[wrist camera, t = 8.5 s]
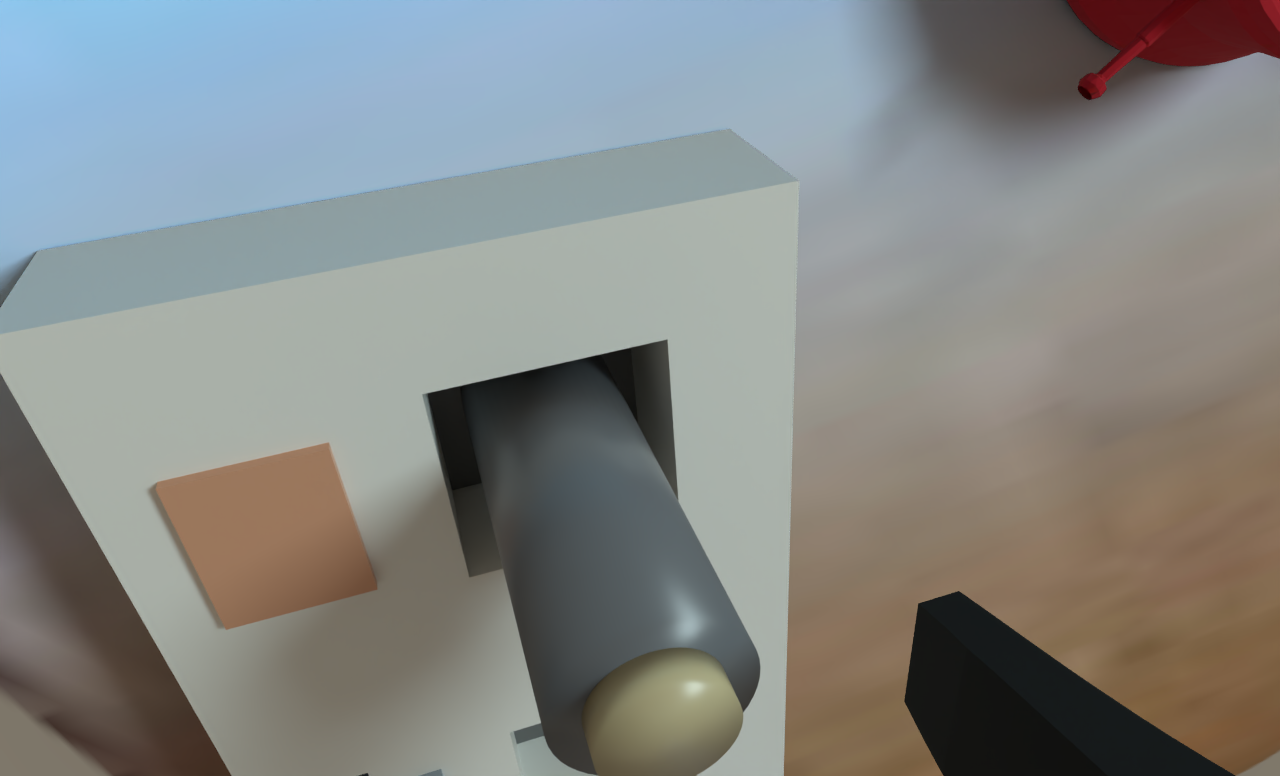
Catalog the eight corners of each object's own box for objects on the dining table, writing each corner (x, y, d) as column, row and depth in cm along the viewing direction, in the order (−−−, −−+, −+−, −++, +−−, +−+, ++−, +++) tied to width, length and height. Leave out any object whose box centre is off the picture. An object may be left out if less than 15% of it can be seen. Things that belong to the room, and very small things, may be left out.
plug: (613, 425, 19) (779, 769, 12) (476, 461, 19) (572, 842, 12) (596, 305, 17) (778, 626, 11) (445, 341, 17) (535, 703, 10)
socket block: (740, 716, 27) (785, 812, 24) (335, 847, 24) (338, 968, 22) (729, 129, 17) (804, 184, 14) (37, 250, 14) (-25, 344, 12)
